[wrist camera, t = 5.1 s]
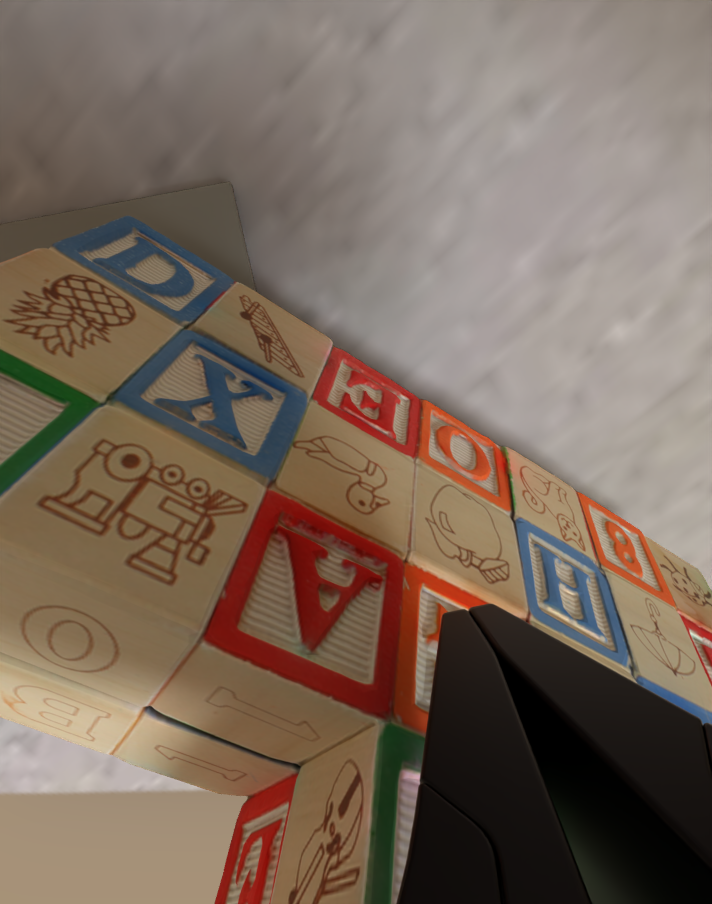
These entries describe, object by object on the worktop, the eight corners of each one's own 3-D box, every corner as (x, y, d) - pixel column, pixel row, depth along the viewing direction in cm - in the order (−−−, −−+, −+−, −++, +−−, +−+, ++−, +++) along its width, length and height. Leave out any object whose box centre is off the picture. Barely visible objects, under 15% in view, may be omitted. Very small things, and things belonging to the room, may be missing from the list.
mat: (231, 185, 15) (229, 181, 14) (339, 656, 20) (340, 663, 19) (-143, 255, 15) (-156, 253, 14) (56, 713, 19) (50, 721, 19)
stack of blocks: (88, 382, 16) (-494, 858, 6) (130, 206, 12) (-1225, 708, 2) (570, 639, 20) (681, 1144, 10) (708, 570, 16) (1078, 1252, 7)
